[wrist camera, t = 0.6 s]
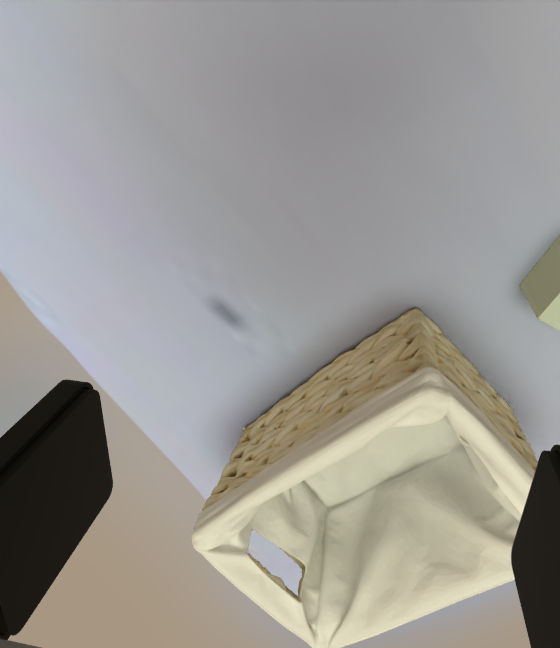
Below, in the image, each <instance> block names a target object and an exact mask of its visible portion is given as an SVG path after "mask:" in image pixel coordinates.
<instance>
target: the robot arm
mask: <svg viewBox="0 0 560 648" xmlns="http://www.w3.org/2000/svg"><path fill="white" fill-rule="evenodd" d="M112 487H113V480H112V473H111V466H110V460H109V453H108V447H107V440H106V435H105V427H104V421H103V414H102V408H101V401H100V395H99V393H98V391H96V390H94V389H93V387H92V385H91V384H90V383H88V382H80V381H73V380H62V381H61V382H60V383H58V384H57V386H55V387H54V388H53V389H52V390H51V391H50V392H49V393H48V394H47V395H46V396H45V397H44V398H42V399H41V400H40V401H39V402H38V403H37V404H36V405H35V406H34V407H33V408H32V409H31V410H30V411H29V412H27V414H25V415H24V416H23V417H22V418H21V419H20V420H19V421H18V422H17V423H16V424H15V425H14V426H13V427H11V428H10V429H9V430H8V431H7V432H6V433H5V434H4V435H3V436H2V437H1V438H0V648H41V647H36V646H31V645H27V644H22V643H17V642H13V641H8V638H9V637H10V635H16V634H17V633H19V632H20V631H21V629H22V628H23V627H24V625H25V624H26V622H27V621H28V619H29V618H30V616H31V615H32V613H33V612H34V610H35V609H36V607H37V605H38V604H39V603H40V601H41V600H42V598H43V597H44V595H45V594H46V592H47V591H48V589H49V588H50V586H51V585H52V583H53V582H54V580H55V579H56V577H57V576H58V574H59V572H60V571H61V569H62V568H63V566H64V565H65V563H66V562H67V560H68V559H69V557H70V556H71V554H72V553H73V551H74V550H75V548H76V547H77V545H78V544H79V542H80V541H81V539H82V538H83V536H84V534H85V533H86V532H87V530H88V529H89V527H90V526H91V524H92V523H93V521H94V520H95V518H96V516H97V515H98V514H99V512H100V511H101V509H102V508H103V506H104V504H105V503H106V502H107V500H108V499H109V497H110V494H111V491H112ZM511 564H512V570H513V574H514V578H515V582H516V586H517V590H518V595H519V599H520V603H521V607H522V611H523V615H524V620H525V624H526V628H527V632H528V636H529V641H530V645H531V648H560V445H554V446H553V447H552V449H551V451H543V452H542V453H541V455H540V458H539V461H538V464H537V468H536V471H535V474H534V477H533V481H532V484H531V487H530V490H529V494H528V497H527V500H526V503H525V507H524V510H523V513H522V516H521V520H520V523H519V526H518V529H517V533H516V536H515V539H514V542H513V546H512V550H511Z"/></svg>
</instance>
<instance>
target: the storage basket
mask: <svg viewBox="0 0 560 648" xmlns="http://www.w3.org/2000/svg"><path fill="white" fill-rule="evenodd" d="M242 430H243V431H244V433H243V435H242V437H241V438H240V440H239V442H238V445H237V446H236V448H235V450H234V451H233V453H232V455H231V457H230V462H229V463H228V464H227V465H226V467H225V468H224V470H223V472H222V475H221V479H220V480H219V483H218V485H217V486H216V487H215V488H214V490H213V491H212V493H211V496H210V497H209V498H208V499H207V501H206V503H205V505H204V507H203V509H202V512H201V513H200V514H199V515H198V518H197V521H196V523H195V526H194V531H193V533H192V546H193V547H194V548H195V550H197V551H198V552H199V553H201V554H202V555H203V556H204V557H205V558H206V559H207V560H208V561H209V562H210V563H211V565H213V567H215V568H216V569H217V570H218V571H219V572H221V574H222V575H224V576H225V577H226V578H227V579H228V580H229V581H230V582H232V583H233V584H234V585H235V586H236V587H237V588H238V589H239V590H241V591H242V592H243V593H244V594H245V595H246V596H248V597H249V598H250V599H251V600H253V601H254V602H255V603H256V604H257V605H259V606H260V607H261V608H262V609H263V610H264V611H266V612H267V613H268V614H269V615H270V616H272V617H273V618H274V619H276V620H277V621H278V622H279V623H280V624H282V625H283V626H285V628H287V629H288V630H290V631H291V632H293V633H294V634H296V635H297V636H298V637H300V638H301V639H303V640H304V641H305V642H307V643H308V644H309V645H310V646H311V647H312V648H341V647H344V646H347V645H350V644H353V643H356V642H358V641H361V640H364V639H367V638H370V637H372V636H376V635H378V634H381V633H383V632H385V631H388V630H390V629H393V628H395V627H398V626H400V625H402V624H405V623H407V622H410V621H412V620H415V619H418V618H420V617H422V616H425V615H427V614H429V613H432V612H434V611H437V610H439V609H441V608H444V607H446V606H449V605H451V604H454V603H456V602H459V601H461V600H463V599H466V598H469V597H471V596H474V595H477V594H479V593H482V592H484V591H487V590H489V589H492V588H495V587H497V586H500V585H502V584H505V583H507V582H510V581H513V580H515V578H514V574H513V570H512V564H511V550H512V546H513V542H514V539H515V536H516V533H517V529H518V526H519V523H520V520H521V516H522V513H523V510H524V507H525V503H526V500H527V497H528V494H529V490H530V487H531V484H532V481H533V477H534V474H535V471H536V468H537V464H538V461H537V460H536V458H535V454H534V452H533V450H532V449H531V446H530V444H529V443H528V442H527V440H526V437H525V436H524V435H523V434H522V430H521V428H520V427H519V425H518V421H517V419H516V417H515V416H514V415H513V412H512V410H511V408H510V407H509V405H508V404H507V403H506V402H505V401H504V399H503V398H502V397H501V396H500V395H498V394H496V392H495V390H494V389H493V388H492V387H491V385H490V384H489V383H488V382H487V381H486V380H485V379H484V378H483V377H482V376H481V375H480V374H479V372H478V371H477V369H476V368H475V367H474V366H473V365H472V364H471V363H470V362H469V361H468V360H467V359H466V358H465V357H464V356H463V355H462V354H461V353H460V351H459V350H458V349H457V348H456V347H455V345H454V344H453V343H452V342H451V341H450V340H449V339H448V338H446V337H445V336H444V335H443V333H442V331H441V330H440V328H439V327H438V326H437V325H436V324H435V323H434V322H433V321H432V320H430V319H429V318H428V317H426V316H425V315H424V314H423V313H422V311H420V310H419V309H417V308H415V309H413V310H410V311H407V312H406V313H405V314H404V315H402V316H401V317H399V318H398V319H397V320H395V321H394V322H391V323H390V324H388V325H387V326H385V327H384V328H382V329H381V330H380V331H379V332H378V333H376V334H374V335H372V336H370V337H368V338H367V339H365V340H364V341H362V342H361V343H360V344H359V345H358V346H357V347H356V348H355V350H351V351H348V352H346V353H344V354H342V355H340V356H339V357H338V358H336V359H335V360H334V361H333V362H332V363H331V364H330V365H328V366H326V367H324V368H323V369H321V370H320V371H318V372H317V373H316V374H315V375H314V376H313V377H311V378H310V379H309V380H308V382H307V383H305V384H303V385H301V386H300V387H298V388H297V389H296V390H294V391H293V392H292V393H291V395H290V396H288V397H286V398H284V399H282V400H281V401H279V402H278V403H277V404H276V405H274V406H273V407H272V409H270V410H269V411H268V412H267V413H265V414H263V415H262V416H260V417H259V418H258V419H257V420H256V421H255V422H253V423H252V424H250V425H249V426H248V427H247V428H245V427H244V428H242ZM252 530H254V531H256V532H257V533H258V534H260V535H261V536H263V537H264V538H266V539H268V540H269V541H271V542H272V543H274V544H275V545H277V546H278V547H279V548H280V549H282V550H283V551H284V552H285V553H286V554H287V555H288V556H289V557H291V558H292V559H293V560H294V561H295V562H296V563H297V564H298V565H299V567H300V568H301V569H302V579H300V581H299V587H298V596H297V595H295V594H294V593H293V592H292V591H291V590H289V589H288V588H287V586H285V585H284V582H283V581H282V579H281V578H279V577H277V576H273V575H272V574H271V573H270V572H269V571H268V570H267V569H266V568H264V567H263V566H262V564H261V563H260V562H259V561H256V560H255V559H254V558H253V557H251V555H250V554H247V549H248V546H249V539H250V535H251V531H252Z"/></svg>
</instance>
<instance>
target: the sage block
mask: <svg viewBox="0 0 560 648" xmlns="http://www.w3.org/2000/svg"><path fill="white" fill-rule="evenodd" d="M520 287H521V289H522V291H523V292H524V294H525V296H526V298H527V300H528V302H529V303H530V305H531V307H532V309H533V311H534V313H535V314H536V316H537V318H538V319H540V320H541V321H543V322H545V323H547V324H549V325H551V326H552V327H554V328H556V329H558V330H560V236H559V237H558V238H557V239H556V241H555V242H554V243H553V244H552V246H551V247H550V248H549V249H548V251H547V252H546V253H545V254H544V255H543V257H542V258H541V259H540V260H539V262H538V263H537V264H536V265H535V267H534V268H533V269H532V270H531V272H530V273H529V274H528V275H527V277H526V278H525V279H524V280H523V281H522V283H521V284H520Z"/></svg>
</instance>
